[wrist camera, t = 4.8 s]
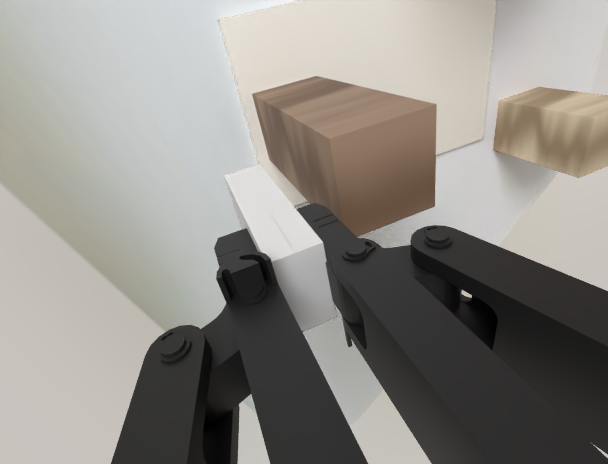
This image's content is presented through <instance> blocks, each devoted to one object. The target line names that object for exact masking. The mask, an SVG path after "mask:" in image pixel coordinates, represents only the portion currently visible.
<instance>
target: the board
mask: <svg viewBox="0 0 608 464" xmlns="http://www.w3.org/2000/svg"><path fill="white" fill-rule="evenodd" d="M496 4H497V0H302V1H298V2H293V3H289V4H284V5H280V6H276V7H271V8H267V9H263V10H258V11H254V12H250V13H245V14H241V15H237V16H232V17H228V18H224V19H219V20H218V23H219V26H220V30H221V33H222V37H223V40H224V44H225V47H226V51H227V54H228V58H229V61H230V65H231V68H232V72H233V76H234V79H235V83H236V86H237V90H238V93H239V97H240V100H241V104H242V107H243V111H244V114H245V118H246V122H247V125H248V129H249V132H250V136H251V139H252V143H253V146H254V150H255V153H256V157H257V160H258V164H260V166H261V167H262V168H263V169H264V171H265V172H266V173H267V174H268V175H269V177H270V178H271V179H272V180H273V182H274V183H275V184H276V185H277V186H278V188H279V189H280V190H281V191H282V193H283V194H284V195H285V196H286V198H287V199H288V200H289V201H290V202H291V204H292V205H293V206H296V205H298V204H301V203H304V202H307V200H306V199H305V198H304V196H303V195H302V194H301V193H300V192H299V191H298V190H297V189H296V188H295V187H294V186H293V185H292V184H291V182H290V181H289V180H288V179H287V178H286V177H285V176H284V175H283V174H282V173H281V172H280V171H279V170H278V168H277V167H276V166H275V165H274V164H273V163H272V162H271V161H270V160H269V158H268V154H267V150H266V146H265V142H264V139H263V135H262V131H261V127H260V123H259V120H258V116H257V112H256V108H255V104H254V101H253V97H252V93H256V92H259V91H263V90H267V89H270V88H274V87H277V86H281V85H284V84H288V83H292V82H295V81H299V80H302V79H306V78H309V77H313V76H319V77H323V78H327V79H332V80H336V81H340V82H344V83H349V84H353V85H357V86H361V87H366V88H370V89H374V90H378V91H383V92H387V93H391V94H395V95H400V96H404V97H408V98H413V99H417V100H421V101H425V102H430V103H434V104H437V114H436V155H438V154H441V153H444V152H447V151H449V150H452V149H455V148H458V147H461V146H463V145H466V144H469V143H472V142H474V141H477V140H480V139H483V138H484V127H485V117H486V107H487V97H488V86H489V76H490V66H491V56H492V45H493V35H494V25H495V14H496Z"/></svg>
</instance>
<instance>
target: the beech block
mask: <svg viewBox="0 0 608 464" xmlns="http://www.w3.org/2000/svg"><path fill="white" fill-rule="evenodd" d="M493 150H495V151H498V152H501V153H504V154H508V155H511V156H514V157H517V158H520V159H523V160H526V161H529V162H532V163H535V164H538V165H541V166H544V167H547V168H550V169H553V170H556V171H559V172H562V173H565V174H568V175H571V176H574V177H577V178H580V177H582V176H585V175H587V174H590V173H592V172H594V171H597V170H599V169H602V168H604V167H606V166H608V96H607V95H599V94H591V93H583V92H575V91H567V90H559V89H551V88H543V87H538V88H535V89H532V90H529V91H526V92H523V93H520V94H517V95H514V96H511V97H508V98H505V99H502V100H499V103H498V112H497V120H496V129H495V138H494V147H493Z"/></svg>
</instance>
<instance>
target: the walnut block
mask: <svg viewBox="0 0 608 464" xmlns="http://www.w3.org/2000/svg"><path fill="white" fill-rule="evenodd" d="M252 97H253V101H254V104H255V108H256V112H257V116H258V120H259V123H260V127H261V131H262V135H263V139H264V142H265V146H266V150H267V154H268V158H269V160H270V161H271V162H272V163H273V164H274V165H275V166H276V167H277V168H278V170H279V171H280V172H281V173H282V174H283V175H284V176H285V177H286V178H287V179H288V180H289V181H290V182H291V184H292V185H293V186H294V187H295V188H296V189H297V190H298V191H299V192H300V193H301V194H302V195H303V196H304V198H305V199H306V200H307V201H308V202H309V203H310V204H313V203H317V204H320V205H323V206H326V207H327V208H328V209H329V210H330V211H331V212H332V213H333V215H335V216H336V217H337V218H338V219H339V221H341V222H342V223H343V224H344V225H345V226H346V227H347V228H348V229H349V230H350V231H351V232H352V233H353V234H354V235H355V236H356V237H358V236H360V235H363V234H365V233H368V232H371V231H373V230H376V229H378V228H381V227H383V226H386V225H388V224H391V223H393V222H396V221H399V220H401V219H404V218H406V217H409V216H411V215H414V214H416V213H419V212H421V211H424V210H427V209H429V208H432V207H434V206H435V165H436V114H437V104H434V103H430V102H425V101H421V100H417V99H413V98H408V97H404V96H400V95H395V94H391V93H387V92H383V91H378V90H374V89H370V88H366V87H361V86H357V85H353V84H349V83H344V82H340V81H336V80H332V79H327V78H323V77H319V76H313V77H309V78H306V79H302V80H299V81H295V82H292V83H288V84H284V85H281V86H277V87H274V88H270V89H267V90H263V91H259V92H256V93H252Z"/></svg>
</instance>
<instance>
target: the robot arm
mask: <svg viewBox="0 0 608 464" xmlns="http://www.w3.org/2000/svg"><path fill="white" fill-rule="evenodd" d="M224 177H225V180H226V183H227V186H228V189H229V192H230V195H231V198H232V201H233V204H234V207H235V210H236V213H237V216H238V218H239V221H240V224H241V227H242V230H240V231H237V232H234V233H231V234H228V235H226V236H223V237H220V238H218V240H217V243H216V245H215V248H214V249H215V252H216V256H217V260H218V263H219V267H220V268H219V269H218V271H217V277H216V279H217V282H218V284H219V286H220V289H221V291H222V293H223V296H224V298H225V300H226V302H227V303H226V306H225V307H224V309H223V311H222V312H221V313H220V314H219V316H218V317H217V318H215V319H214V320H213V321H212V322H211V323H209V324H208V325H206V326H205V327H203V328H202V329H200V328H199V327H195V326H192V325H184V326H178V327H176V328H173V329H170V330H168V331H167V332H165V333H164V334H162V335H161V336H159V337H158V338H157V340H155V341H154V343H153V344H152V345H151V346H150V348H149V350H148V351H147V353H146V355H145V358H144V361H143V365H142V368H141V371H140V374H139V377H138V380H137V383H136V387H135V390H134V393H133V396H132V399H131V402H130V406H129V409H128V412H127V415H126V418H125V421H124V425H123V428H122V431H121V434H120V437H119V441H118V443H117V447H116V450H115V453H114V456H113V459H112V462H111V464H237V461H238V433H239V403H241V402H242V401H243V400H244V399H245V398H246V397H248V396H249V395H250V394H252V397H253V401H254V405H255V408H256V412H257V416H258V420H259V423H260V427H261V430H262V434H263V438H264V442H265V445H266V449H267V453H268V456H269V460H270V464H368V463H367V461H366V459H365V457H364V455H363V453H362V451H361V449H360V447H359V445H358V443H357V441H356V439H355V437H354V435H353V433H352V431H351V429H350V427H349V425H348V423H347V421H346V419H345V417H344V415H343V413H342V411H341V409H340V407H339V405H338V403H337V401H336V399H335V397H334V395H333V393H332V391H331V389H330V387H329V385H328V383H327V381H326V379H325V377H324V375H323V373H322V371H321V369H320V367H319V365H318V363H317V361H316V359H315V357H314V355H313V353H312V351H311V349H310V347H309V345H308V343H307V341H306V339H305V337H304V335H303V333H302V332H303V331H305V330H308V329H310V328H312V327H315V326H317V325H319V324H322V323H324V322H326V321H329V320H331V319H333V318H335V317H337V313H336V308H335V305H336V307H337V308H338V310H339V311H340V313H341V314H342V318H343V324H344V329H345V335H346V341H347V344H348V347H350V346H352V342H351V339H352V340H353V342H354V344H355V345H356V347H357V348H358V350H359V351H360V353H361V354H362V356H363V358H364V359H365V361H366V362H367V364H368V365H369V367H370V368H371V370H372V371H373V373H374V375H375V376H376V378H377V379H378V381H379V382H380V384H381V385H382V387H383V389H384V390H385V392H386V393H387V395H388V396H389V398H390V399H391V401H392V403H393V404H394V406H395V407H396V409H397V410H398V412H399V413H400V415H401V416H402V418H403V420H404V421H405V423H406V424H407V426H408V427H409V429H410V431H411V432H412V433H413V435H414V437H415V438H416V440H417V441H418V443H419V444H420V446H421V448H422V449H423V451H424V452H425V454H426V455H427V457H428V458H429V460H430V461H431V463H432V464H608V458H606V457H605V456H604V455H603V454H602V453H601V452H600V451H599V450H598V449H597V448H596V447H595V446H597V447H598V448H599V449H601V450H602V451H604V452H605V453H607V454H608V291H606V290H603V289H601V288H599V287H596V286H594V285H591V284H589V283H586V282H584V281H581V280H579V279H576V278H574V277H572V276H569V275H566V274H564V273H562V272H559V271H557V270H555V269H552V268H549V267H547V266H545V265H542V264H540V263H537V262H535V261H532V260H530V259H527V258H525V257H523V256H520V255H518V254H515V253H513V252H510V251H508V250H505V249H503V248H501V247H498V246H496V245H493V244H491V243H488V242H486V241H484V240H481V239H479V238H476V237H474V236H471V235H469V234H466V233H464V232H461V231H459V230H457V229H454V228H451V227H447V226H437V225H433V226H427V227H423V228H421V229H419V230H417V231H416V232H415V233H414V234H413V235H412V237H411V245H407V246H401V247H394V248H382V247H381V246H380V245H379V244H377V243H376V242H374V241H372V240H369V239H364V238H357V237H356V236H355V235H354V234H353V233H352V232H351V231H350V230H349V229H348V228H347V227H346V226H345V225H344V224H343V223H342V222H341V221H339V219H338V218H337V217H336V216H335V215H333V213H332V212H331V211H330V210H329V209H328V208H327V207H326V206H323V205H320V204H317V203H313V204H310V205H307V206H304V207H302V208H299V209H295V207H294V206H293V205H292V204H291V202H290V201H289V200H288V199H287V198H286V196H285V195H284V194H283V193H282V191H281V190H280V189H279V188H278V186H277V185H276V184H275V183H274V182H273V180H272V179H271V178H270V177H269V175H268V174H267V173H266V172H265V171H264V169H263V168H262V167H261V166H260V164H258V165H255V166H252V167H249V168H246V169H243V170H239V171H236V172H233V173H230V174H227V175H224ZM462 290H464V291H466V292H467V293H469V294H471V295H472V298H469V297H466V296H464V295H462V294H461V291H462ZM590 442H591V443H590ZM593 444H594V445H595V446H593Z"/></svg>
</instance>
